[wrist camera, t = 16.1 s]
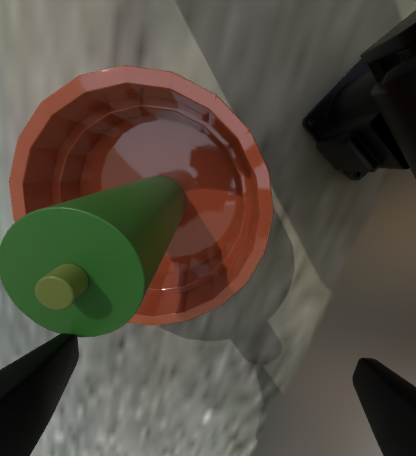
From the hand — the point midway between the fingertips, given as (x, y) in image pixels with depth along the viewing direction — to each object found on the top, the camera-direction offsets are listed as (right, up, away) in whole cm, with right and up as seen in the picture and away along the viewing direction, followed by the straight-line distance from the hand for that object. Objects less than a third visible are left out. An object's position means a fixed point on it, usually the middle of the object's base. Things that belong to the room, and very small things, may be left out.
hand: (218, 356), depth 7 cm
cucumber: (-4, +6, +11) cm, 13 cm away
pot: (-4, +6, +12) cm, 14 cm away
